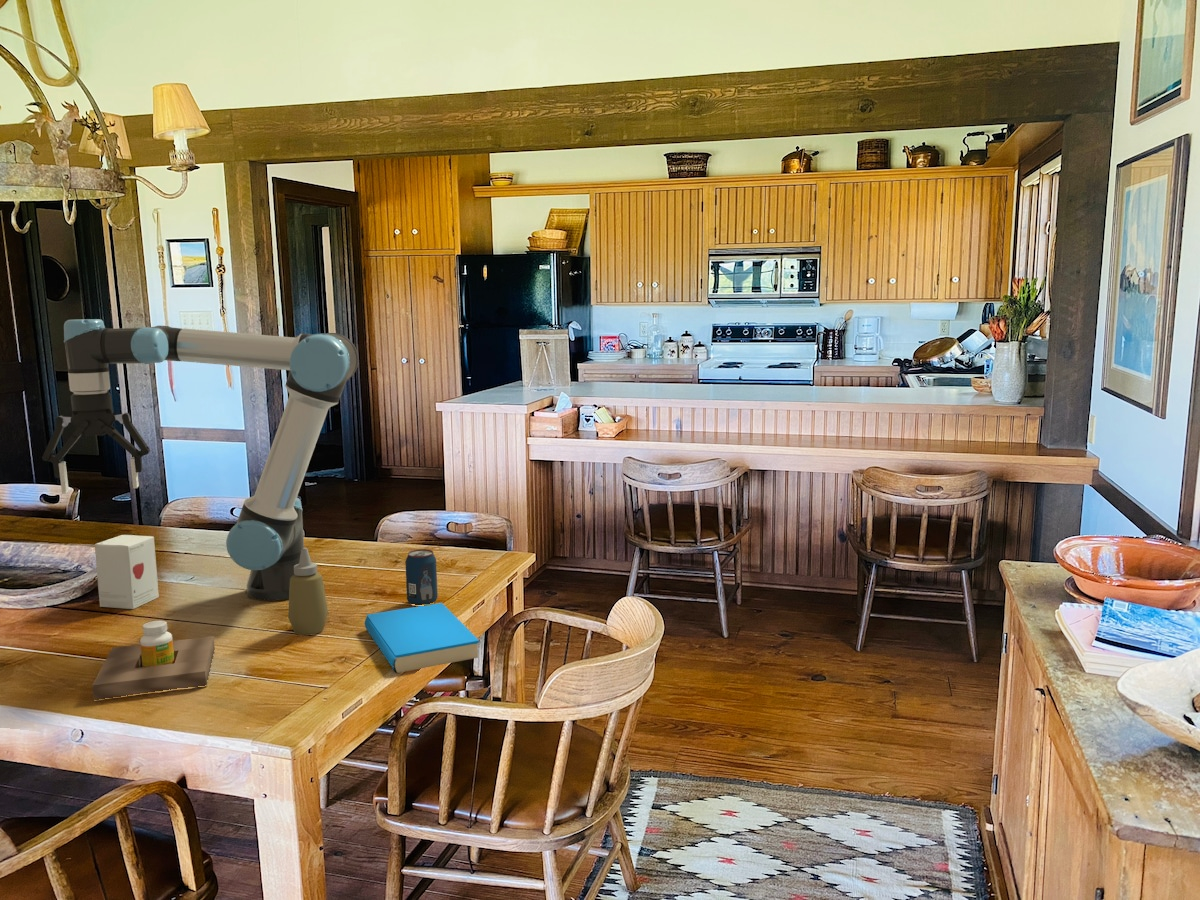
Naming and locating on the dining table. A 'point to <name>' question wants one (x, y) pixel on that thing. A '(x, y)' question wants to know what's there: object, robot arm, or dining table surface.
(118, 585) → the supplement box
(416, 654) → the book
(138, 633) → the dining table surface
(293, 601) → the squeeze bottle
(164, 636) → the supplement bottle
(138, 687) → the socket stand
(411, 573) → the soda can
